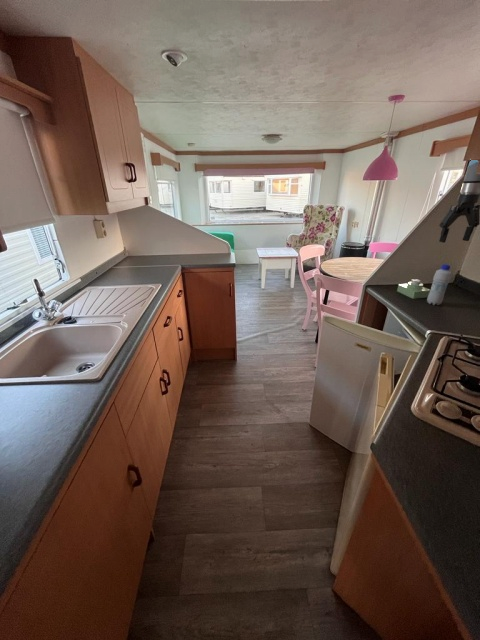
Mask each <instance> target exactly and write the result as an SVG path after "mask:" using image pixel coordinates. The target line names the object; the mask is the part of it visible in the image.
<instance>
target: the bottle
mask: <svg viewBox="0 0 480 640" xmlns="http://www.w3.org/2000/svg"><path fill="white" fill-rule="evenodd" d="M450 268H451V265H449V264H442V265H441V266H440V269H437V270H436V271H435V273H434V275H433V278H432V284H431V287H430V293H429V295H428V297H426V303H428V305H432V306H435V305H436V306H440V305H441V304H442V303H443V301H444V297H445V293H446V291H447V288H448V285H449V283H450V281H451V279H452V273H453V272H452V271H451V269H450Z"/></svg>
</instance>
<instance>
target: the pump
mask: <svg viewBox="0 0 480 640" xmlns="http://www.w3.org/2000/svg"><path fill="white" fill-rule="evenodd" d="M410 282H411V284H413V285H420V283H422V280H420V279H416V278H413V279H411V281H410Z"/></svg>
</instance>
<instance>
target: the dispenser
mask: <svg viewBox="0 0 480 640" xmlns="http://www.w3.org/2000/svg"><path fill="white" fill-rule="evenodd" d="M411 282H412V281H408V282H407V283H401V284H400V283H399V284H398V286H397V289H396V292H398V293H399V294H401V295H404V296H406V297H408V298H411V299H412V300H414V299H424V298H426V299H427V298H428V295H429V293H430V290H431V288H427V287H424V284H423V283H422V282H420V285H413V284H411Z"/></svg>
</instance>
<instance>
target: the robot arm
mask: <svg viewBox="0 0 480 640" xmlns="http://www.w3.org/2000/svg"><path fill="white" fill-rule="evenodd" d="M470 160H471V159H470ZM470 160H469V163H468V165H467V169H466V172H465V175H464V178H463V182H462V186H461V189H460V191H459V193H460V194H459V195H458V198H457V201H456V203H457V205H451V206H450V208H449V210H448V211H447V213H446V214H445V216H444V217H443V219H442V220H441V221H440V223H439V225H438V226H439V227H440V228H441V232H440V237H439V243H442V244H443V243H446V241H447V238H448V235H449V233H450V232H449V231H450V229H451V228H450V227H451V226H452V225H453V223H454V222H455V221H456V220H457V219H458V218H460V217H464V216H465V218H466V221H467V224H468V226H466V228H465V231H464V234H463V236H462V241H465V242H469V241H470V238H471V236H472V234H473V233H474V229H475V228H477V227H478V226H479V225H480V204H477V203H478V202H479V198H480V175H478V174H476V172H477V167H478V164H479V161H478V160H471V161H470Z"/></svg>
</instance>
